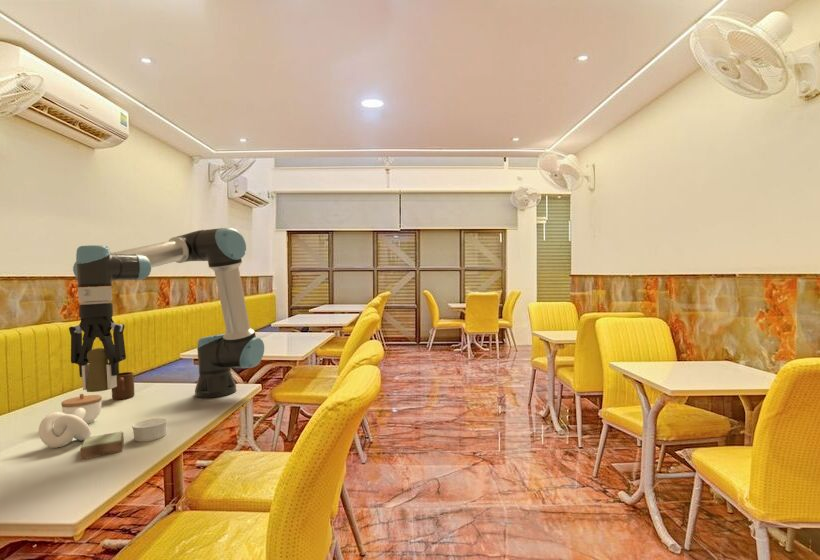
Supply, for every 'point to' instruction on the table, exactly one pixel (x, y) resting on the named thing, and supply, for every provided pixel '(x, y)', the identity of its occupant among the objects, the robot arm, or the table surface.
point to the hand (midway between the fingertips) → (100, 388)
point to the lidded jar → (84, 406)
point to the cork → (97, 370)
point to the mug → (124, 386)
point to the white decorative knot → (63, 428)
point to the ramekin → (149, 429)
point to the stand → (102, 445)
